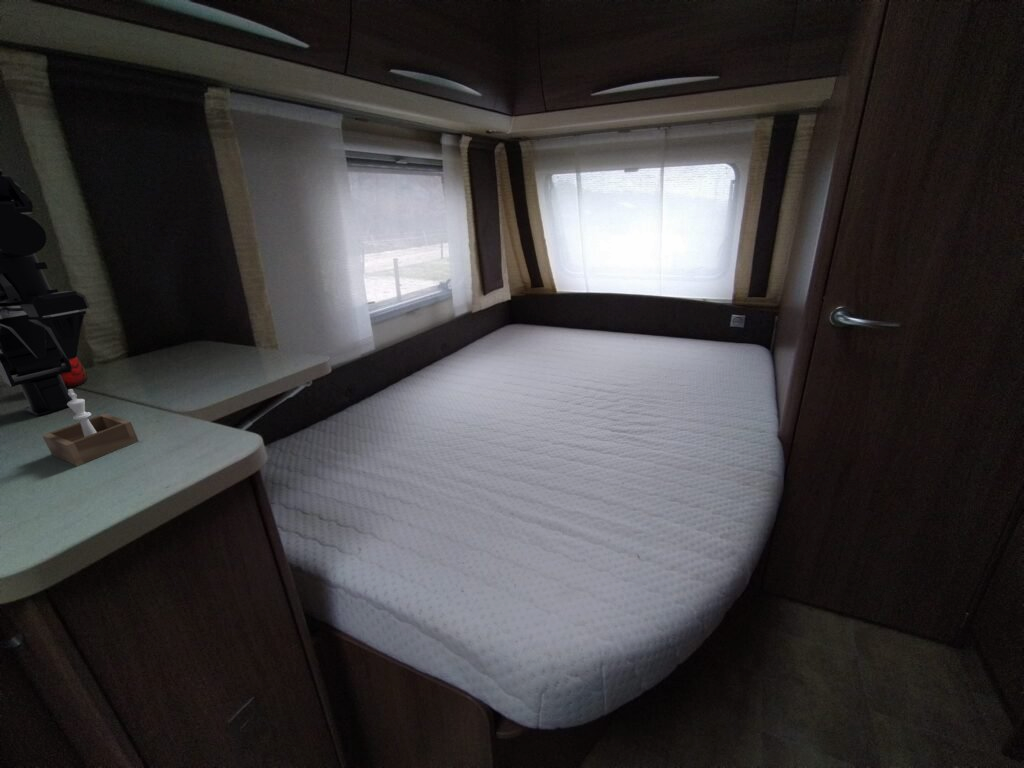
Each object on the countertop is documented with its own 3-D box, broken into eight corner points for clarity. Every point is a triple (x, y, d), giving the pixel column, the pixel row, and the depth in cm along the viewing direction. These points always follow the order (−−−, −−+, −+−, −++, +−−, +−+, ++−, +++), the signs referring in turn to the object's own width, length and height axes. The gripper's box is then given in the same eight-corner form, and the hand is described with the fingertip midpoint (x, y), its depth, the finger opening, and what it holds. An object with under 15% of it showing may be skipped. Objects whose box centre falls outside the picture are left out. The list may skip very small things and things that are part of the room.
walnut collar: (52, 455, 69) (42, 435, 68) (112, 432, 76) (104, 413, 74) (77, 466, 66) (67, 445, 64) (138, 441, 72) (130, 421, 71)
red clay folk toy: (46, 386, 98) (14, 319, 92) (88, 377, 103) (60, 312, 97) (47, 395, 93) (14, 325, 87) (92, 385, 98) (63, 317, 92)
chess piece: (83, 458, 68) (55, 398, 64) (70, 451, 70) (42, 393, 66) (122, 443, 72) (97, 386, 68) (108, 437, 74) (83, 381, 70)
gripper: (-100, 269, 63) (-42, 372, 69) (-40, 261, 56) (19, 377, 62) (6, 259, 73) (49, 351, 78) (68, 251, 66) (111, 353, 71)
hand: (56, 357), depth 72 cm, fingers open, 9 cm apart
